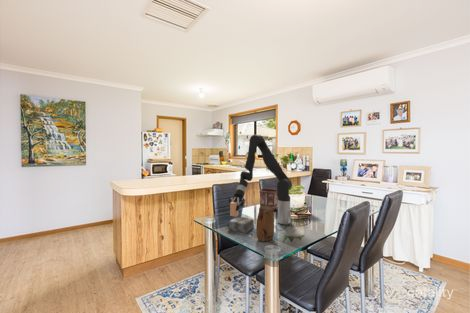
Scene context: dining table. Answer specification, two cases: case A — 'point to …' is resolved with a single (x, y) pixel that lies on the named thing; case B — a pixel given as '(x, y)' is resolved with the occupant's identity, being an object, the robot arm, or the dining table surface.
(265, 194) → the reddish brown crate
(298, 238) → the dining table surface
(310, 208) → the candy box
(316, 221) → the dining table surface
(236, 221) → the charcoal plinth
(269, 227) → the block
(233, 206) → the terracotta block
